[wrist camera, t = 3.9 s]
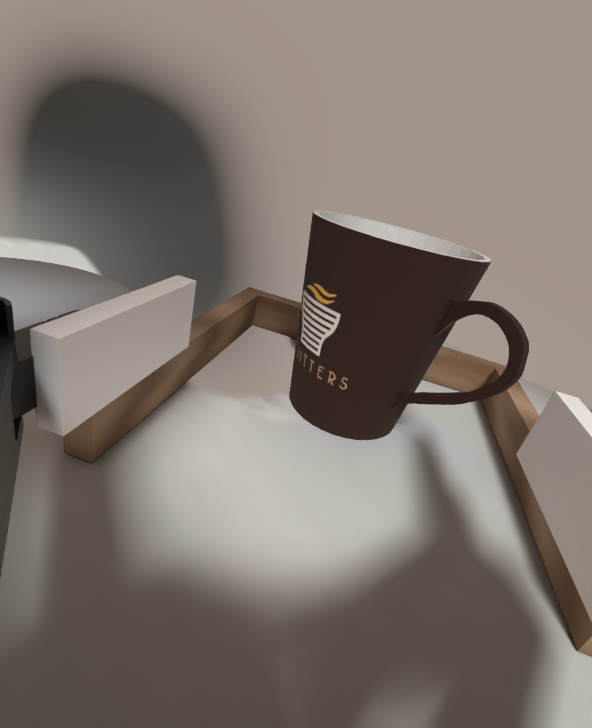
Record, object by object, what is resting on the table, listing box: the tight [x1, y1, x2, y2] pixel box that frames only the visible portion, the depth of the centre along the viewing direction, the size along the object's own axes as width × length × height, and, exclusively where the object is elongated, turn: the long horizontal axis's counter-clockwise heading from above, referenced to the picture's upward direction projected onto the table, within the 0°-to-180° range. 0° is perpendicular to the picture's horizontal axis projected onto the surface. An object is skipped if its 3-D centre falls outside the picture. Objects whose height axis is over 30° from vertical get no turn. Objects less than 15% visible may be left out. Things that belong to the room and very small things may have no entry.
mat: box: [0, 257, 132, 331], centre depth 24 cm, size 16×16×1 cm
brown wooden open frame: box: [64, 287, 592, 657], centre depth 22 cm, size 19×20×2 cm
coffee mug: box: [290, 211, 529, 440], centre depth 20 cm, size 12×9×10 cm
